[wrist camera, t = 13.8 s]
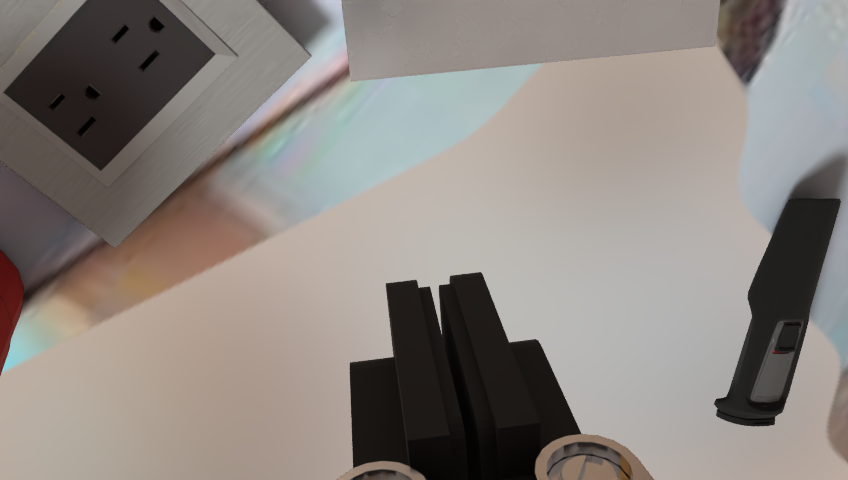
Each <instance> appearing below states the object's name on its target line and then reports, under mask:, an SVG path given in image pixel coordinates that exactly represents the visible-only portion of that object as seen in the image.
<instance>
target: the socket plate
mask: <svg viewBox="0 0 848 480" xmlns="http://www.w3.org/2000/svg"><path fill="white" fill-rule="evenodd" d="M719 6H720V0H342V9H343V17H344V26H345V35H346V43H347V52H348V61H349V69H350V78H351V81H361V80H371V79H382V78H392V77H403V76H413V75H423V74H434V73H444V72H454V71H465V70H475V69H485V68H496V67H506V66H516V65H527V64H537V63H547V62H557V61H568V60H578V59H588V58H598V57H609V56H620V55H630V54H640V53H650V52H661V51H671V50H682V49H692V48H702V47H713V46H715V43H716V34H717V24H718V15H719Z"/></svg>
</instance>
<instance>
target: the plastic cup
mask: <svg viewBox="0 0 848 480" xmlns="http://www.w3.org/2000/svg"><path fill="white" fill-rule="evenodd" d="M23 291H24V287H23V284H22V281H21V278H20V275H19V272H18V269H17V268H16V267H15V266H14V265H13V263H12V262H11V261H10V260H9V259H8V258H7V256H6V255H5V254H4V253H3V252H2V251H1V250H0V375H1V372H2V369H3V366H4V363H5V361H6V358H7V355H8V352H9V348H10V341H11V337H12V335H13V332H14V330H15V327H16V325H17V322H18V320H19V317H20V313H21V307H22V301H23Z"/></svg>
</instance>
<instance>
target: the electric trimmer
mask: <svg viewBox="0 0 848 480" xmlns="http://www.w3.org/2000/svg"><path fill="white" fill-rule="evenodd" d="M840 203H841V201H840V199H791V200H789V202H788V203H787V205H786V207H785V209H784V211H783V213H782V216H781V218H780V220H779V222H778V224H777V227H776V229H775V231H774V233H773V236H772V238H771V240H770V242H769V245H768V247H767V249H766V251H765V254H764V256H763V258H762V260H761V263H760V265H759V267H758V270H757V272H756V274H755V277H754V279H753V282H752V284H751V286H750V289H749V291H748V301H749V305H750V308H751V312H752V319H751V322H750V326H749V329H748V332H747V335H746V338H745V341H744V345H743V348H742V351H741V355H740V358H739V361H738V364H737V367H736V370H735V374H734V377H733V380H732V383H731V386H730V390H729V392H728V394H727V397H724V398H718V399H716V400H715V403H714V405H715V406H716V407H717V408H718V409H717V414H716V416H717V417H720V418H721V419H724V420H726V421H729V422H732V423H735V424H740V425H746V426H769V425H774V424H775V416H777V415H778V414H780V413H782V411H783V409H784V406H785V403H786V399H787V397H788V394H789V391H790V387H791V384H792V379H793V376H794V373H795V369H796V365H797V362H798V359H799V355H800V351H801V348H802V344H803V341H804V337H805V333H806V329H807V325H808V321H809V313H810V307H811V304H812V300H813V297H814V293H815V290H816V286H817V283H818V280H819V276H820V273H821V269H822V266H823V262H824V259H825V255H826V252H827V248H828V245H829V242H830V238H831V235H832V231H833V228H834V224H835V221H836V217H837V214H838V210H839V207H840Z"/></svg>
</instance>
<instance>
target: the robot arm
mask: <svg viewBox="0 0 848 480" xmlns="http://www.w3.org/2000/svg"><path fill="white" fill-rule="evenodd" d="M386 291H387V300H388V309H389V318H390V327H391V336H392V346H393V354H394V357H391V358H383V359H375V360H368V361H359V362H352V363H350V388H351V417H352V444H353V469H351V470H349V471H348V472H346V473H345V474H344V475H342V476H340V477H339V478H338V479H337V480H654V479H653V477H652V476H651V475H650V474H649V472H648V471H647V470H646V468H645V467H644V466H643V464H642V463H641V462H640V461H639V459H638V458H637V457H636V456H635V455H634V454H633V453H632V452H631V451H630V450H629V449H628V448H626V447H625V446H623V445H621V444H619V443H617V442H616V441H614V440H611V439H607V438H604V437H601V436H598V435H586V434H581V432H580V430H579V428H578V425H577V423H576V421H575V419H574V417H573V414H572V412H571V410H570V408H569V406H568V403H567V401H566V399H565V397H564V395H563V393H562V390H561V388H560V386H559V384H558V382H557V379H556V377H555V375H554V373H553V371H552V368H551V366H550V364H549V362H548V360H547V357H546V356H545V353H544V351H543V349H542V347H541V345H540V343H539V341H538V340H536V339H534V340H526V341H518V342H510V343H509V341H508V339H507V336H506V334H505V331H504V329H503V326H502V323H501V321H500V318H499V316H498V313H497V311H496V308H495V305H494V303H493V300H492V298H491V295H490V292H489V290H488V287H487V285H486V282H485V280H484V277H483V275H482V273H481V272H479V273H471V274H462V275H454V276H450V284H448V285H439V298H440V311H441V326H442V334H441V330H440V326H439V322H438V318H437V314H436V310H435V306H434V301H433V297H432V293H431V289H430V287H422V288H418V284H417V281H416V280H411V281H403V282H395V283H386Z"/></svg>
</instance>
